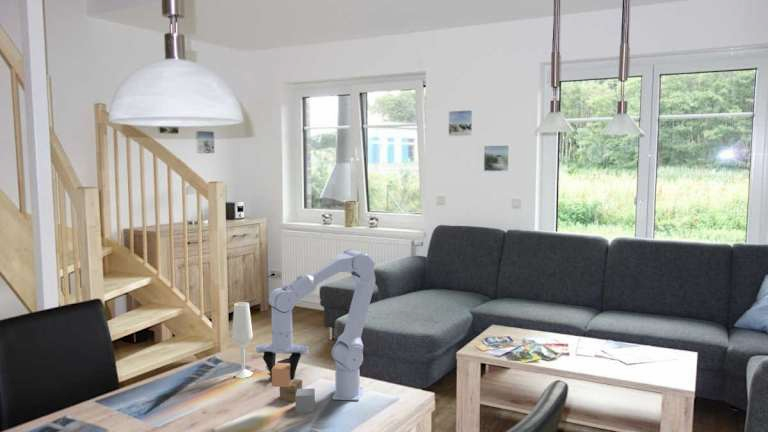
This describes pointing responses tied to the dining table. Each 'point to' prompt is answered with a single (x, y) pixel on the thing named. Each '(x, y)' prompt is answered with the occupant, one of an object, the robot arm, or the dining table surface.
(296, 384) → the walnut block
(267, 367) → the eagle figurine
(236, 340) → the champagne flute
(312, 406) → the slate grey block
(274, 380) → the terracotta block
